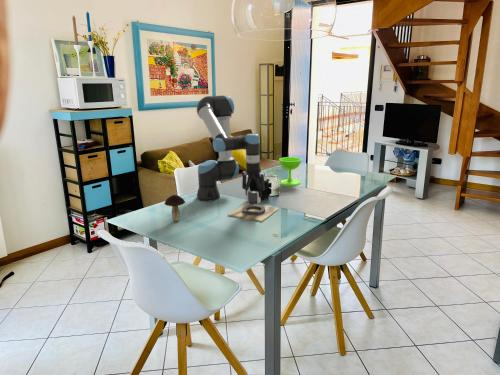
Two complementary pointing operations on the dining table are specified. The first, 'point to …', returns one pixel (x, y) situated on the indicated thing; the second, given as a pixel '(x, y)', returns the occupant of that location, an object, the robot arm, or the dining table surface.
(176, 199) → the decorative mushroom
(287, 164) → the wineglass
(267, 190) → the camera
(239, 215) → the mount
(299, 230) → the dining table surface
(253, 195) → the cap
